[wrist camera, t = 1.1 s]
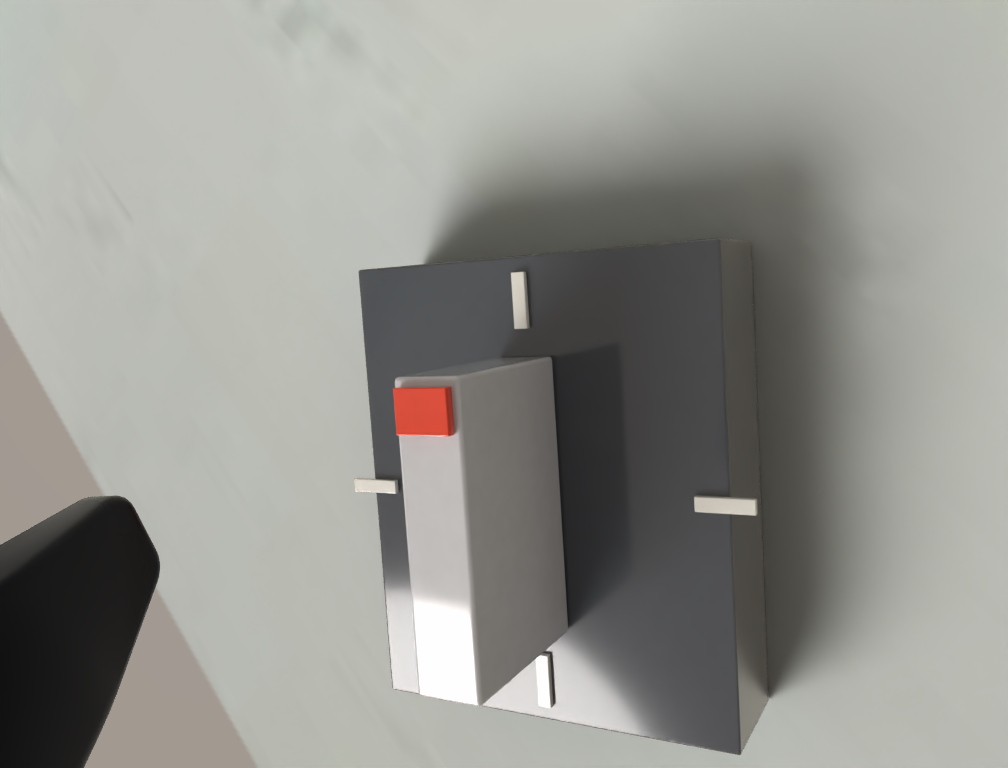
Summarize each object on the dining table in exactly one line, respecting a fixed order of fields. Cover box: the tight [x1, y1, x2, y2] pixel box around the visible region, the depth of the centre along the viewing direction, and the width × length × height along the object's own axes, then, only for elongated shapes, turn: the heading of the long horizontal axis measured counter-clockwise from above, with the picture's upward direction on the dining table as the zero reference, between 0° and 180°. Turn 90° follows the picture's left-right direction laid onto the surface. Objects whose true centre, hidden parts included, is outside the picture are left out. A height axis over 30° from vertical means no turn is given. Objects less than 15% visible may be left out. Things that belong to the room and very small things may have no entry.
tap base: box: [355, 238, 768, 755], centre depth 24 cm, size 12×11×3 cm
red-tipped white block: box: [393, 356, 568, 706], centre depth 20 cm, size 7×2×5 cm, turn 5°
